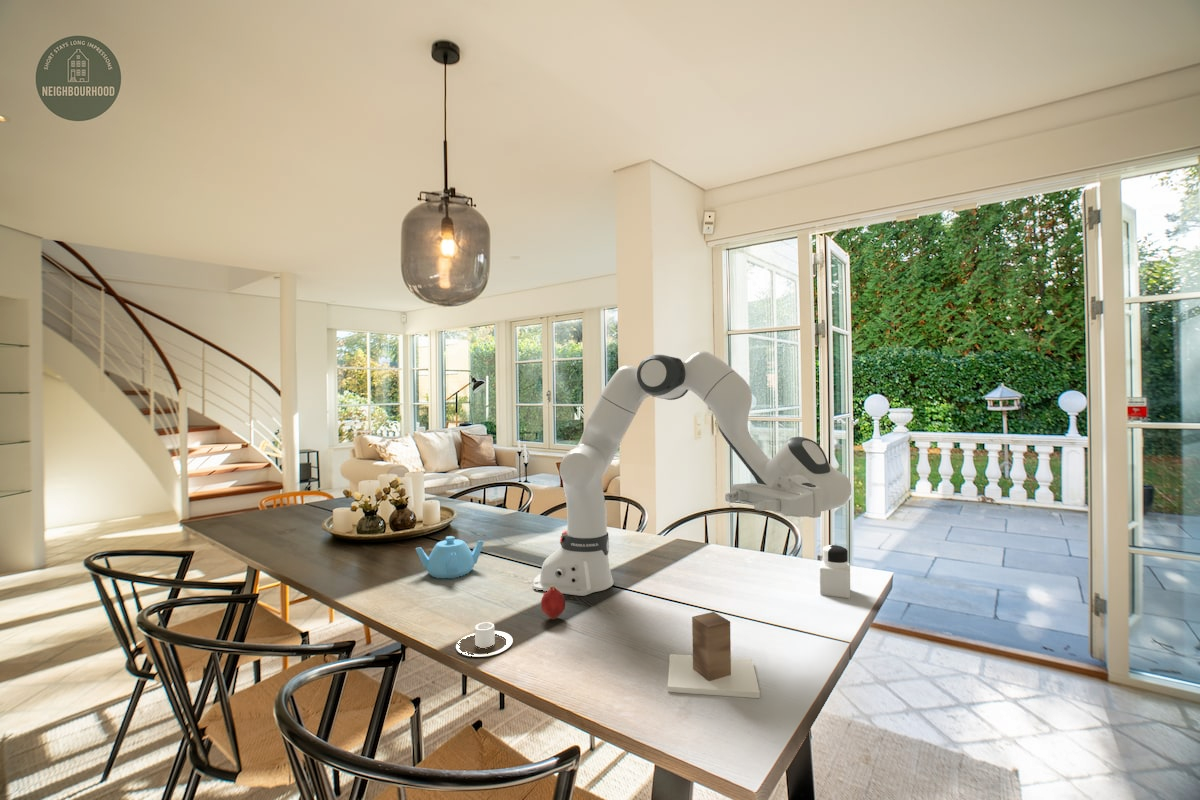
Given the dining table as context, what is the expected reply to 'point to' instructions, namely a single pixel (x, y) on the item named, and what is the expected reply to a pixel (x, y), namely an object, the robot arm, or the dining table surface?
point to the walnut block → (711, 646)
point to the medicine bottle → (835, 572)
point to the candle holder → (486, 639)
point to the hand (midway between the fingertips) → (741, 502)
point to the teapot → (450, 558)
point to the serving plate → (692, 682)
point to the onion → (553, 603)
